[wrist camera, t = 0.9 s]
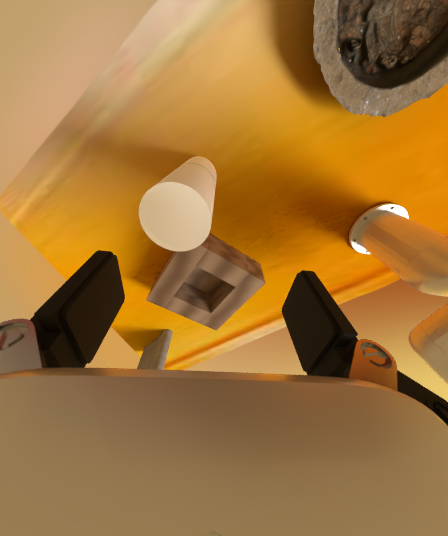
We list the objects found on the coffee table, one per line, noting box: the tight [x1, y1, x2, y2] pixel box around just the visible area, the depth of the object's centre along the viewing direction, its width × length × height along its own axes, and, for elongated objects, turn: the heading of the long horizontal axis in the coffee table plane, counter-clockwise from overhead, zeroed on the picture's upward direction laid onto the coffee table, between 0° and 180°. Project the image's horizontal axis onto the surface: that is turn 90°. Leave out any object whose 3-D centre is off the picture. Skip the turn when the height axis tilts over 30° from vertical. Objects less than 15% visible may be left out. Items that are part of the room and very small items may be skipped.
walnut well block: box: [147, 233, 265, 330], centre depth 51 cm, size 21×21×8 cm
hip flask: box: [137, 329, 172, 370], centre depth 63 cm, size 16×4×20 cm, turn 138°
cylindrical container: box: [139, 156, 217, 252], centre depth 30 cm, size 7×7×25 cm
